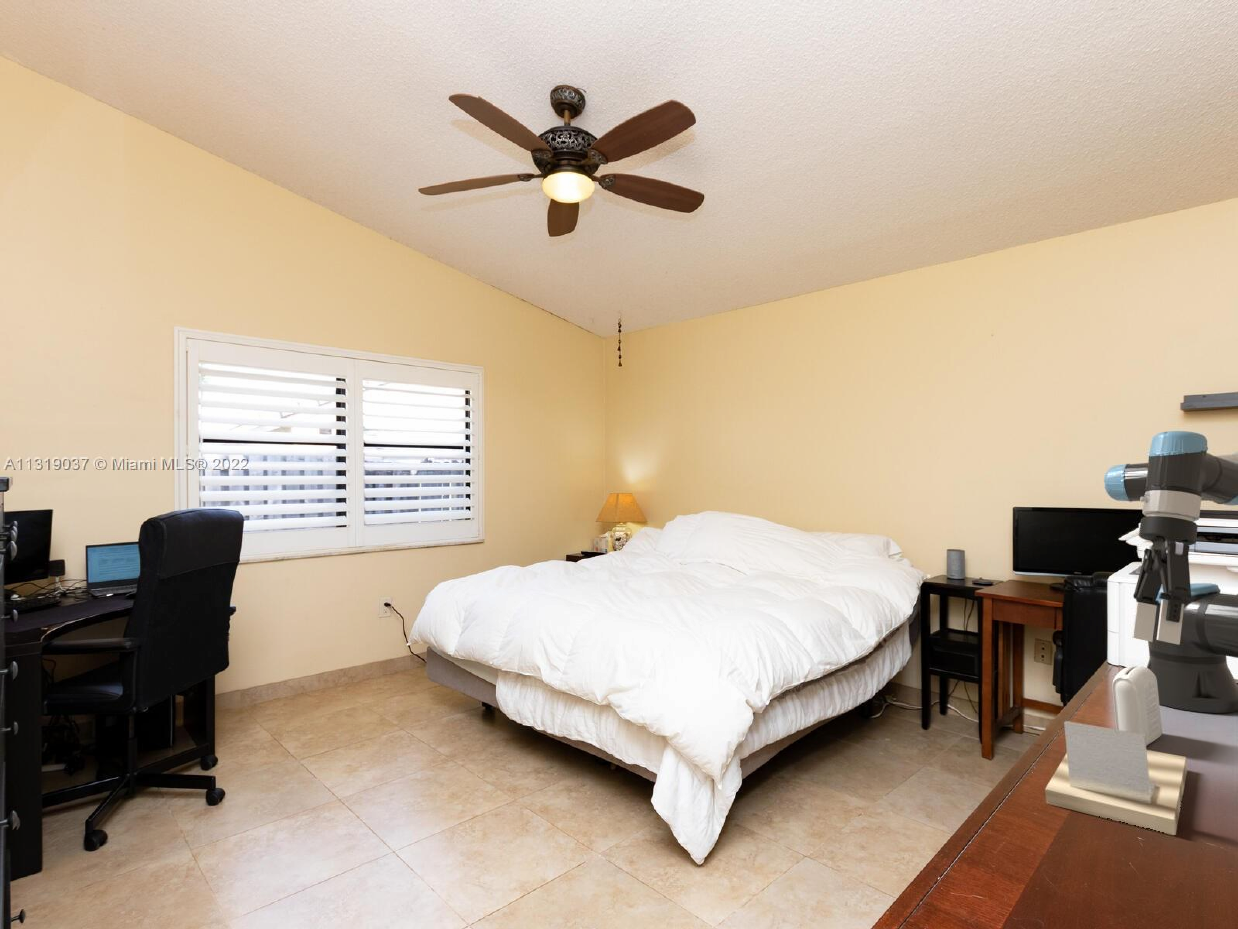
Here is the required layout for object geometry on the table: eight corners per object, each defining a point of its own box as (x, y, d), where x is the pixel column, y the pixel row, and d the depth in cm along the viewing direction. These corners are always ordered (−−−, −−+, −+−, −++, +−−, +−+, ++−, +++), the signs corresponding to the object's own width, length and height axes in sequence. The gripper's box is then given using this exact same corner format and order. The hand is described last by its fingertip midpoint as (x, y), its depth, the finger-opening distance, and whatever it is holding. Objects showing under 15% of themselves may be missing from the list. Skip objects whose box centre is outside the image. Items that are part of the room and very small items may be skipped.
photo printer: (1136, 728, 115) (1129, 659, 116) (1166, 735, 111) (1159, 664, 112) (1113, 743, 109) (1106, 671, 110) (1144, 751, 106) (1136, 676, 106)
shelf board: (1077, 748, 108) (1076, 737, 108) (1187, 770, 98) (1185, 757, 98) (1046, 803, 91) (1045, 789, 91) (1175, 835, 81) (1173, 819, 81)
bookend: (1079, 769, 96) (1073, 709, 97) (1156, 785, 90) (1149, 721, 90) (1070, 786, 91) (1064, 723, 92) (1150, 805, 85) (1144, 736, 85)
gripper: (1122, 524, 123) (1108, 633, 120) (1165, 504, 101) (1149, 636, 98) (1171, 532, 120) (1158, 644, 117) (1227, 512, 98) (1212, 650, 95)
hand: (1154, 641), depth 108 cm, fingers open, 13 cm apart
